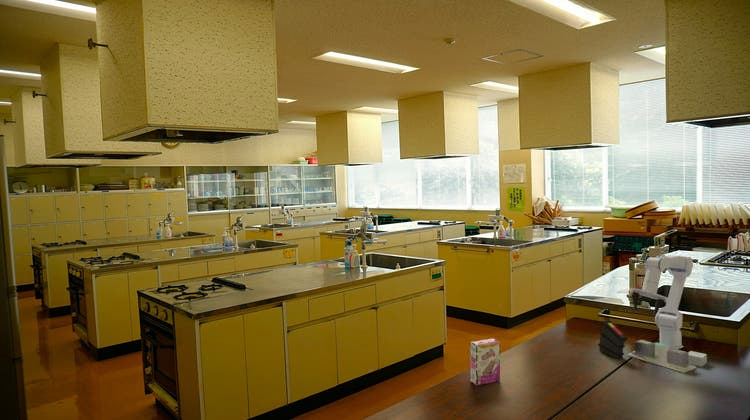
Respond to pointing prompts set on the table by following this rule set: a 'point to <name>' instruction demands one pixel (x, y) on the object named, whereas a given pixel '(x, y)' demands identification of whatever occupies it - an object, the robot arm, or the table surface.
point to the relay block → (697, 358)
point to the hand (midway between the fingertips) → (644, 312)
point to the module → (661, 349)
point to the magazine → (612, 340)
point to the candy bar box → (485, 361)
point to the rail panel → (673, 361)
